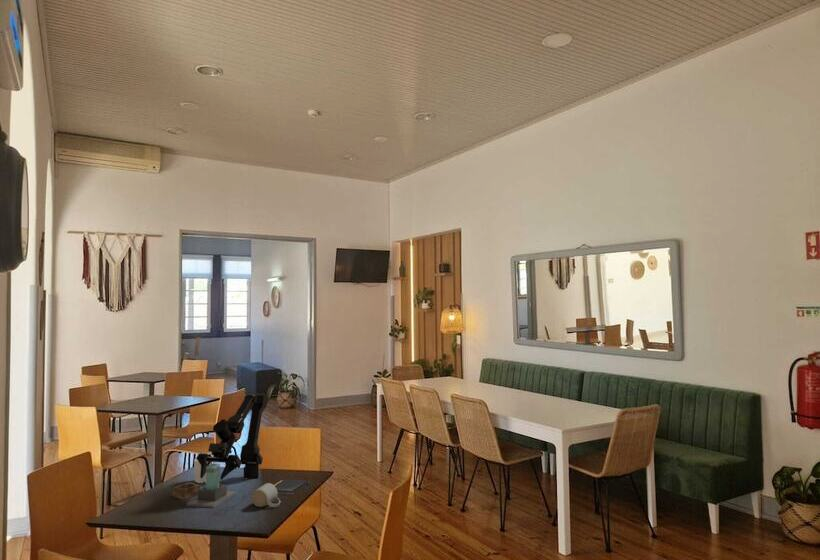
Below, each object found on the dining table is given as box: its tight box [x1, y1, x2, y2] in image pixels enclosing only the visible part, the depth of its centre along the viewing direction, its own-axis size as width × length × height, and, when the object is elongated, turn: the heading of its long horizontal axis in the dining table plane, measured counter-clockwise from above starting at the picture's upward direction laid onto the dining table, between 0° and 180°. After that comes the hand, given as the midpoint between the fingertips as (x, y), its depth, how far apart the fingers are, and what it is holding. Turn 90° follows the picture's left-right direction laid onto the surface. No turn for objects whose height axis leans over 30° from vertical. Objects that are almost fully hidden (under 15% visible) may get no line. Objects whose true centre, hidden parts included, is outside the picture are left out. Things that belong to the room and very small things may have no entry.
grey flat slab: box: [273, 478, 311, 495], centre depth 246 cm, size 20×2×15 cm
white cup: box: [193, 458, 213, 484], centre depth 257 cm, size 8×8×10 cm
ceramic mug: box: [251, 482, 281, 508], centre depth 223 cm, size 11×8×8 cm
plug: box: [205, 463, 221, 490], centre depth 230 cm, size 4×4×13 cm
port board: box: [186, 483, 237, 509], centre depth 230 cm, size 18×12×5 cm, turn 168°
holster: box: [172, 482, 201, 501], centre depth 236 cm, size 8×7×4 cm
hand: (210, 478), depth 229 cm, fingers open, 9 cm apart
